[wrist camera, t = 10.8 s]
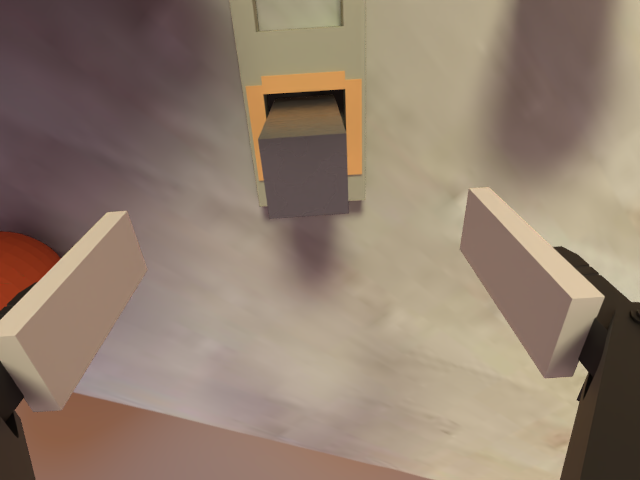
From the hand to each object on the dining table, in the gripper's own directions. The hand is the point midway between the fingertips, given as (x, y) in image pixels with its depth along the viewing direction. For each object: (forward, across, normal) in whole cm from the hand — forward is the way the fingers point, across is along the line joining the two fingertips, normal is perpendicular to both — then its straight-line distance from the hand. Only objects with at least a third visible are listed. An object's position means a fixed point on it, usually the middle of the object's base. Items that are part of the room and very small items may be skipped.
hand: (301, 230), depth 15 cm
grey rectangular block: (+19, 0, -1) cm, 19 cm away
